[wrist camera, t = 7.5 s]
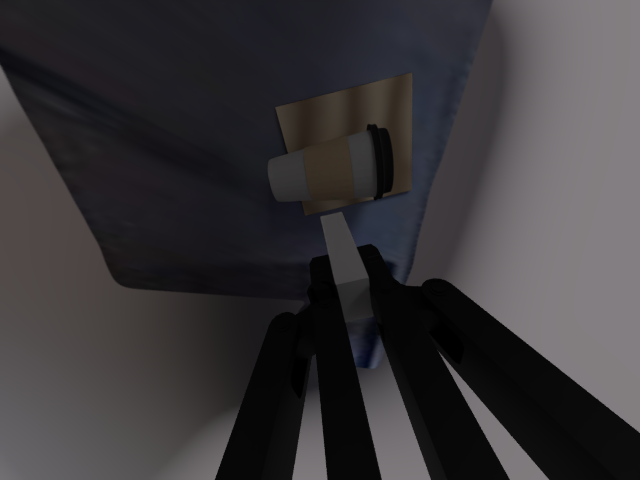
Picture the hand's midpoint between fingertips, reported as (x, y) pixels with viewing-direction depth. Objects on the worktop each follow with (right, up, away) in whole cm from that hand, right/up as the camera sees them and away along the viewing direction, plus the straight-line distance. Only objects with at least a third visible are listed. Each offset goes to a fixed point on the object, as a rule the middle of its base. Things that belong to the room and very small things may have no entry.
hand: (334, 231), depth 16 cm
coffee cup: (-7, +8, +15) cm, 19 cm away
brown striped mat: (+4, +12, +18) cm, 22 cm away
